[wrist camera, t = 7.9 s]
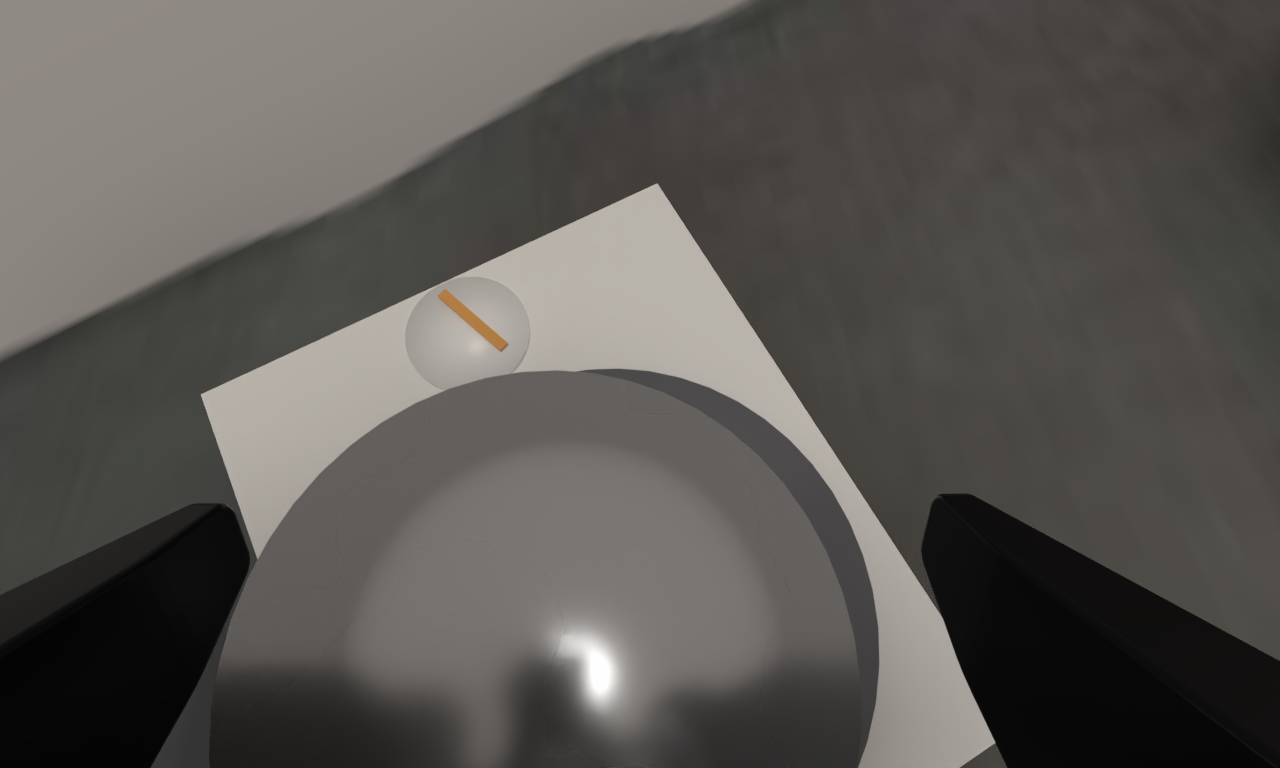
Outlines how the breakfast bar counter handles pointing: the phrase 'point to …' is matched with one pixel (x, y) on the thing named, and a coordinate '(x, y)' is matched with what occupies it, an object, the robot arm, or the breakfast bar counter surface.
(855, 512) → the kitchen scale
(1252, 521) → the breakfast bar counter surface
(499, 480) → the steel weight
